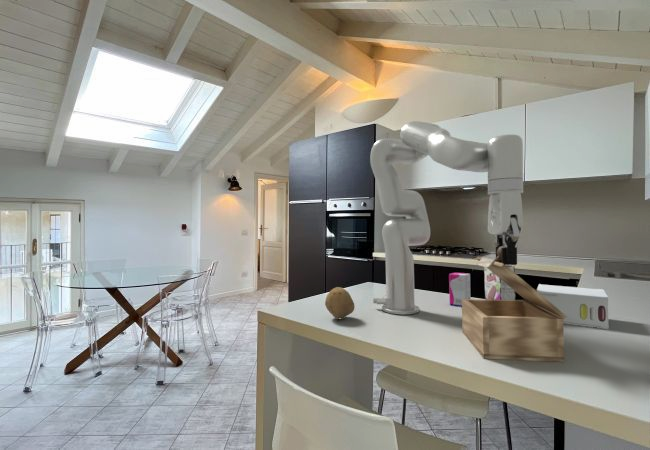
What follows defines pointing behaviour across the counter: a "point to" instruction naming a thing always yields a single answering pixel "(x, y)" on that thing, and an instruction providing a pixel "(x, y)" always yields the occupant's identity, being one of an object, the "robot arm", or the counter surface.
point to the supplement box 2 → (578, 304)
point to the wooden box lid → (517, 283)
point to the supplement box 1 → (459, 288)
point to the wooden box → (513, 330)
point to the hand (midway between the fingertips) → (506, 263)
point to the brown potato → (339, 303)
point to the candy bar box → (497, 286)
